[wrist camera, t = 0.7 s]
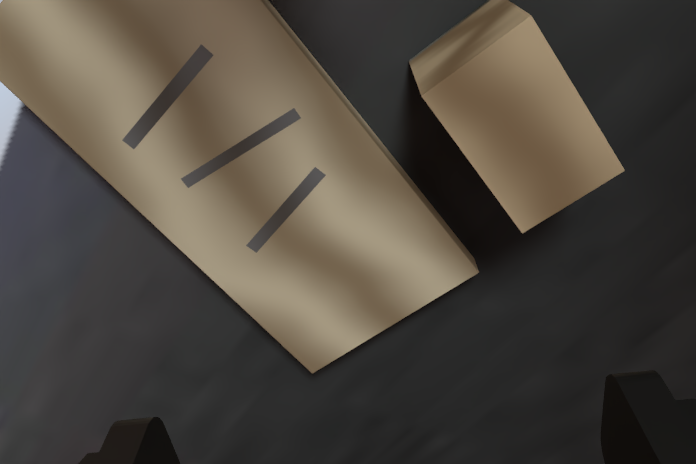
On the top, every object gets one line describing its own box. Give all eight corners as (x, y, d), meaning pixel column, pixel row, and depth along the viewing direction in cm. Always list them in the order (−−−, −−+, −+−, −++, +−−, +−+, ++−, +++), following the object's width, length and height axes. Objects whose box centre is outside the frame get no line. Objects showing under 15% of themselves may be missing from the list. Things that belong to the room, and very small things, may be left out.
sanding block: (496, -8, 28) (531, 15, 23) (577, 124, 31) (624, 170, 26) (408, 60, 29) (421, 96, 24) (494, 179, 32) (522, 233, 27)
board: (152, -145, 25) (141, -148, 24) (474, 258, 35) (479, 272, 33) (-22, 37, 29) (-39, 44, 27) (313, 357, 38) (312, 373, 37)
